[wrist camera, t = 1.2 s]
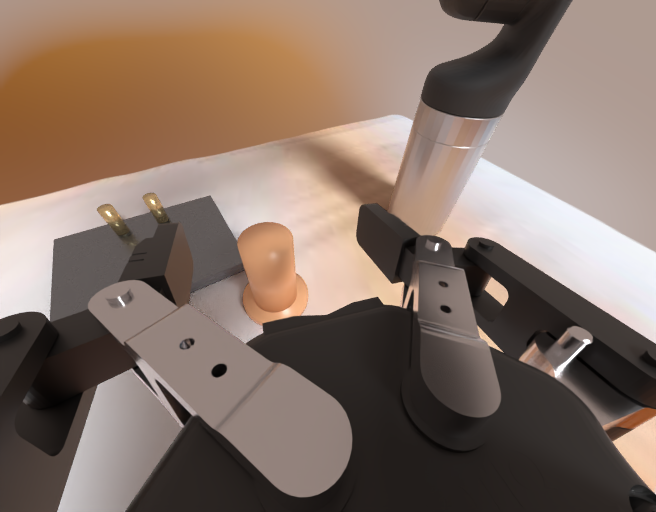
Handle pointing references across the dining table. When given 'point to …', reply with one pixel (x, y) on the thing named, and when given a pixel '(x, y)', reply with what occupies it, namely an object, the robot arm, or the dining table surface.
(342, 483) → the robot arm
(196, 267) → the base plate
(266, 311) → the orange flanged cylinder
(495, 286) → the dining table surface
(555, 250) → the dining table surface
